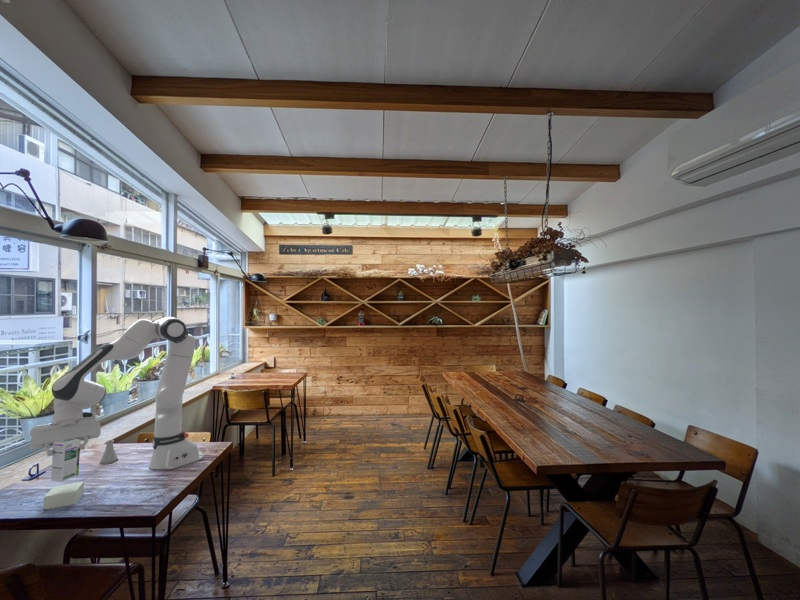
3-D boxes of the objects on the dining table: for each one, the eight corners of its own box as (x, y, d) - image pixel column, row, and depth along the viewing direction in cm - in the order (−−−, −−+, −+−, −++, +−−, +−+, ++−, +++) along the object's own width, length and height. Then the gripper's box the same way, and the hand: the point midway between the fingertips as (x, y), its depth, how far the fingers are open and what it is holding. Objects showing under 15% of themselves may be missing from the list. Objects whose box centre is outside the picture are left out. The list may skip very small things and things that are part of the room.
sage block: (83, 494, 139) (84, 481, 139) (75, 504, 131) (76, 491, 131) (53, 499, 134) (53, 486, 135) (43, 510, 126) (43, 496, 127)
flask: (97, 465, 165) (98, 444, 166) (101, 460, 172) (102, 440, 172) (116, 462, 169) (117, 441, 169) (120, 457, 175) (120, 437, 176)
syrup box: (61, 482, 130) (64, 443, 131) (49, 480, 131) (53, 441, 132) (78, 475, 135) (81, 438, 136) (67, 474, 136) (70, 437, 137)
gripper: (30, 422, 132) (27, 455, 124) (100, 412, 146) (101, 441, 139) (30, 431, 135) (27, 464, 127) (99, 420, 149) (100, 449, 142)
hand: (66, 452), depth 133 cm, fingers closed on syrup box, 8 cm apart
